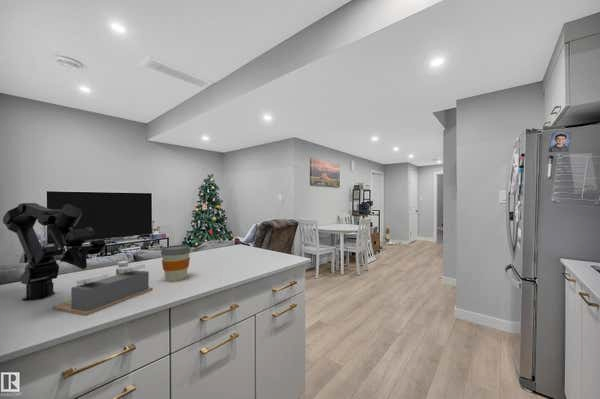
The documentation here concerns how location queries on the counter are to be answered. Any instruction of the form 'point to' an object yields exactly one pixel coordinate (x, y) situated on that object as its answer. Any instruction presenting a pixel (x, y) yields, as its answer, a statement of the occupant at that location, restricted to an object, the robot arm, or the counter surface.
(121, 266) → the supplement bottle
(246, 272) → the counter surface
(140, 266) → the rocker
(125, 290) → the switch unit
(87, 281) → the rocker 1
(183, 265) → the reusable coffee cup
